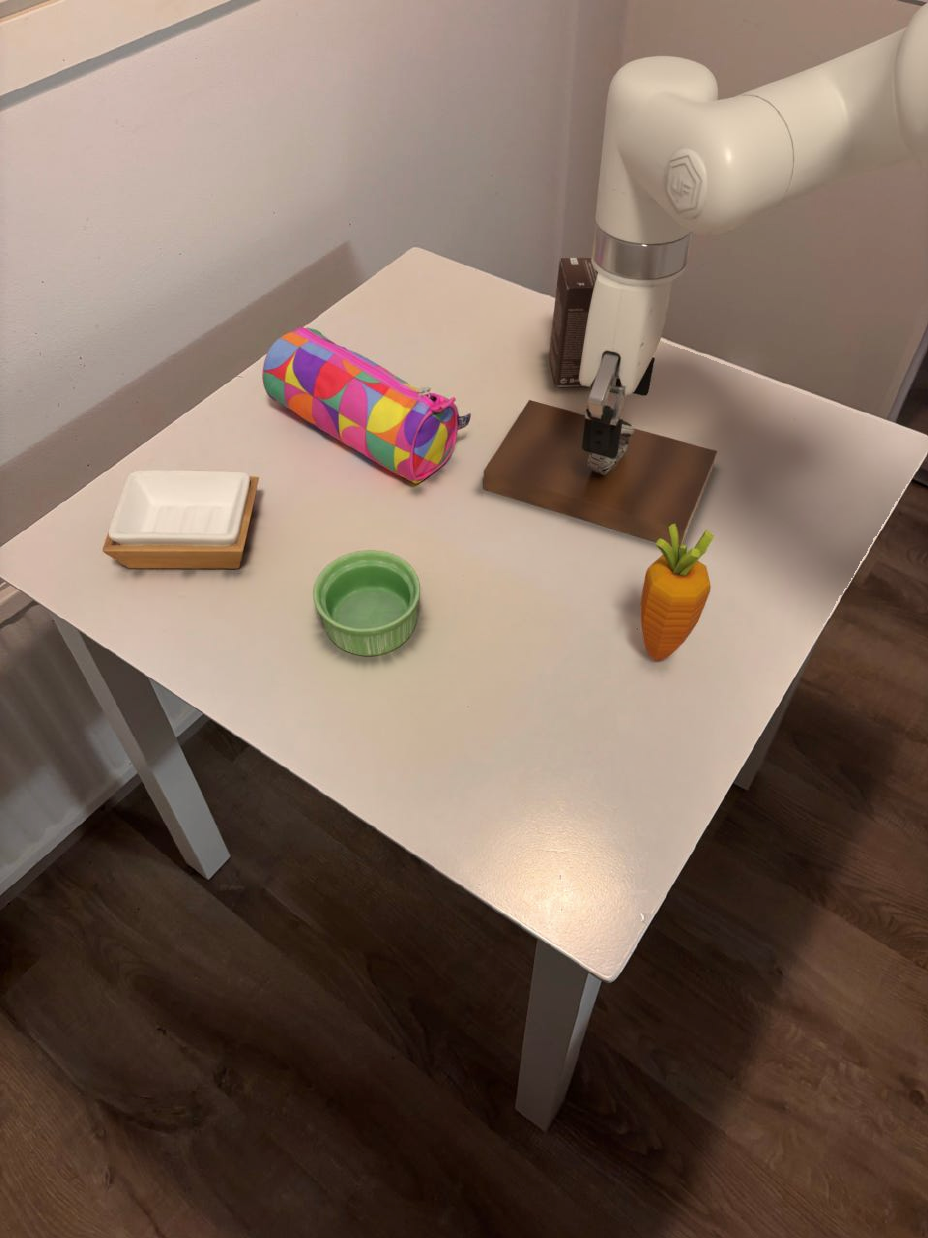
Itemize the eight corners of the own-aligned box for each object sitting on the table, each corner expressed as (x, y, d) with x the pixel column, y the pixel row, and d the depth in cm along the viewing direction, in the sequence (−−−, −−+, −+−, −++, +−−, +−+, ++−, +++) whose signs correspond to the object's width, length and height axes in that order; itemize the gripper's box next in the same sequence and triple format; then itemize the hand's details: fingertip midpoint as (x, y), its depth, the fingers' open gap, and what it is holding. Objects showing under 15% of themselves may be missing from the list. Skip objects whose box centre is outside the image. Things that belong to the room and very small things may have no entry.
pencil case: (476, 451, 92) (477, 378, 85) (420, 502, 88) (416, 430, 81) (320, 375, 101) (309, 302, 93) (261, 418, 96) (244, 345, 89)
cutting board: (712, 469, 90) (717, 450, 89) (679, 549, 84) (684, 530, 82) (527, 418, 96) (529, 399, 94) (483, 489, 89) (483, 470, 87)
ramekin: (355, 569, 82) (350, 536, 79) (441, 605, 80) (439, 572, 76) (299, 637, 77) (291, 605, 74) (388, 678, 75) (384, 646, 71)
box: (594, 386, 99) (608, 286, 90) (554, 388, 99) (563, 288, 89) (587, 353, 103) (599, 255, 93) (547, 355, 103) (556, 256, 93)
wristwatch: (636, 452, 88) (644, 412, 84) (605, 488, 85) (612, 447, 81) (605, 439, 90) (611, 398, 86) (574, 474, 86) (578, 433, 83)
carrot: (620, 671, 75) (648, 548, 63) (635, 628, 78) (665, 503, 66) (678, 690, 74) (717, 568, 62) (692, 645, 77) (732, 521, 65)
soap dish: (114, 578, 82) (96, 540, 78) (139, 503, 88) (123, 464, 84) (251, 578, 82) (240, 540, 78) (266, 503, 88) (256, 464, 84)
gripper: (628, 187, 76) (606, 361, 89) (557, 289, 66) (545, 467, 79) (715, 203, 74) (680, 378, 87) (657, 310, 64) (627, 490, 77)
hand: (616, 420), depth 83 cm, fingers open, 9 cm apart
